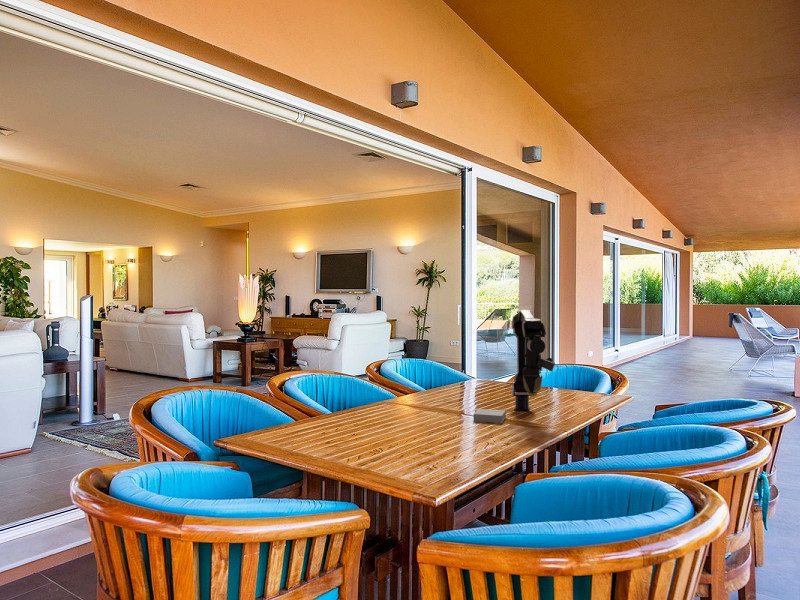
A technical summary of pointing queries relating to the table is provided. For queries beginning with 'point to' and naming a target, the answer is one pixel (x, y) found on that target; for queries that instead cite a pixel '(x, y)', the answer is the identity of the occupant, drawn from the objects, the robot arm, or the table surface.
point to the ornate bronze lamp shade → (536, 387)
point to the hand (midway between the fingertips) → (532, 391)
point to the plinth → (489, 415)
